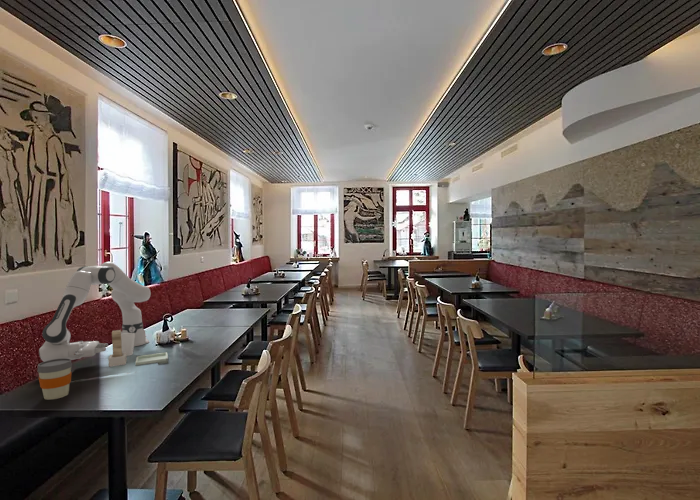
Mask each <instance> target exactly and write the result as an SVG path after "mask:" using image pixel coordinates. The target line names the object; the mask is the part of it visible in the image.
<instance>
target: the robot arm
mask: <svg viewBox="0 0 700 500" xmlns="http://www.w3.org/2000/svg"><path fill="white" fill-rule="evenodd" d="M91 285H94V286H95V285H108V286H109V287H110V288H111V289H112V290H111V293H110V296H111V298H112V300H113V301H114V302H115V303H116V304H117V305H118V307H119V309H120V311H121V315H122V325H121V328H122V329H121V334H123V333H135V338H134V347H139V346H142V345H143V346H144V345H145V344H150V340H149V339H148V338H147V334H146V330H145V329H144V323H143V319H142V318H143V317H142V311H141V309H140V308H139V307H138V306H136V305H135V303H144V302H147V301H149V299H150V297H151V294H152V293H151V289H150V288H149V287H148V286H146V285H142V284H141V283H139V282H137V281H135V280H133V279H132V278H130V277H129V275H127V274H126V273H125V272H124V271H123V270H122V269H121V268H120V267H119V266H118V265H116V264H115V263H114V262H112V261H106V262H105V261H104V262H103V263H101V264H100V265H91V266H90V265H89V266H88V265H84V266H81V267H79V268H78V269H77V270H76V271H74V273H72V276H71V277H70V278H69V280H68V282H67V284H66V287H65V288H64V290H63V291H64V292H63V293H62V294H63V295H62V296H61V297H62V298H61V300H60V303H59V304H58V307H57V308H56V311H55V313H54V315H53V318H52V319H51V321H49V323H47V325H45V326H44V328H43V330H42V331H41V332H42V333H41V334H42V339H44V341H45V342H43V344H42V345H41V347H40V348H39V349H38V355H39V356H38V357H39V358H40V360H41V362H45V361H49V360H53V359H61V358H68V359H71V361H74V360H79V359H82V358H88V357H89V358H90V357H95V355H96V354H99V353H102V352H106V351H107V347H109V343H108V342H107V343H101V342H100V341H99V340H93V341H92V340H90V341H89V340H87V341H83V340H80V341H75V342H70V340H71V332H70V330H69V329H68V328H67V322H68V320H69V317H70V316H71V313H72V311H73V309H74V308H76V307H78V306H82V304H83V303H84V302H85V300H86V299H87V296H88V295H89V292H90V288H91Z"/></svg>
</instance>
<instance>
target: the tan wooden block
mask: <svg viewBox="0 0 700 500" xmlns="http://www.w3.org/2000/svg"><path fill="white" fill-rule="evenodd" d="M121 332H122V329H117V330H112V332H111V339H112V340H111V342H112V343H111V344H112V354H113V357H119V356H122V342H121Z"/></svg>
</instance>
